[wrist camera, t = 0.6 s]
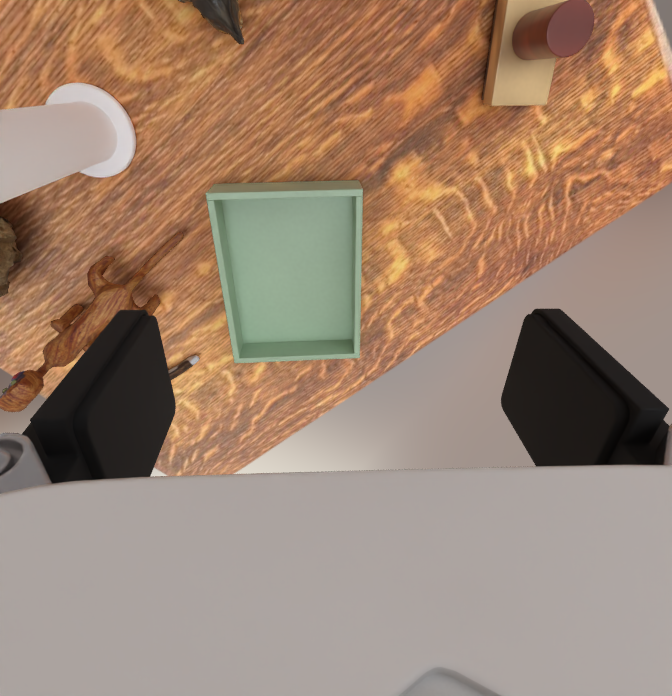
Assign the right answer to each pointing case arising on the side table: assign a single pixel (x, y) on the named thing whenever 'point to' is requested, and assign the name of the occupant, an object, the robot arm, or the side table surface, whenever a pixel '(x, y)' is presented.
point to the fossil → (7, 253)
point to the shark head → (221, 16)
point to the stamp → (532, 47)
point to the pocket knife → (183, 366)
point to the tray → (290, 268)
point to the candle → (64, 139)
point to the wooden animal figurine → (83, 326)
